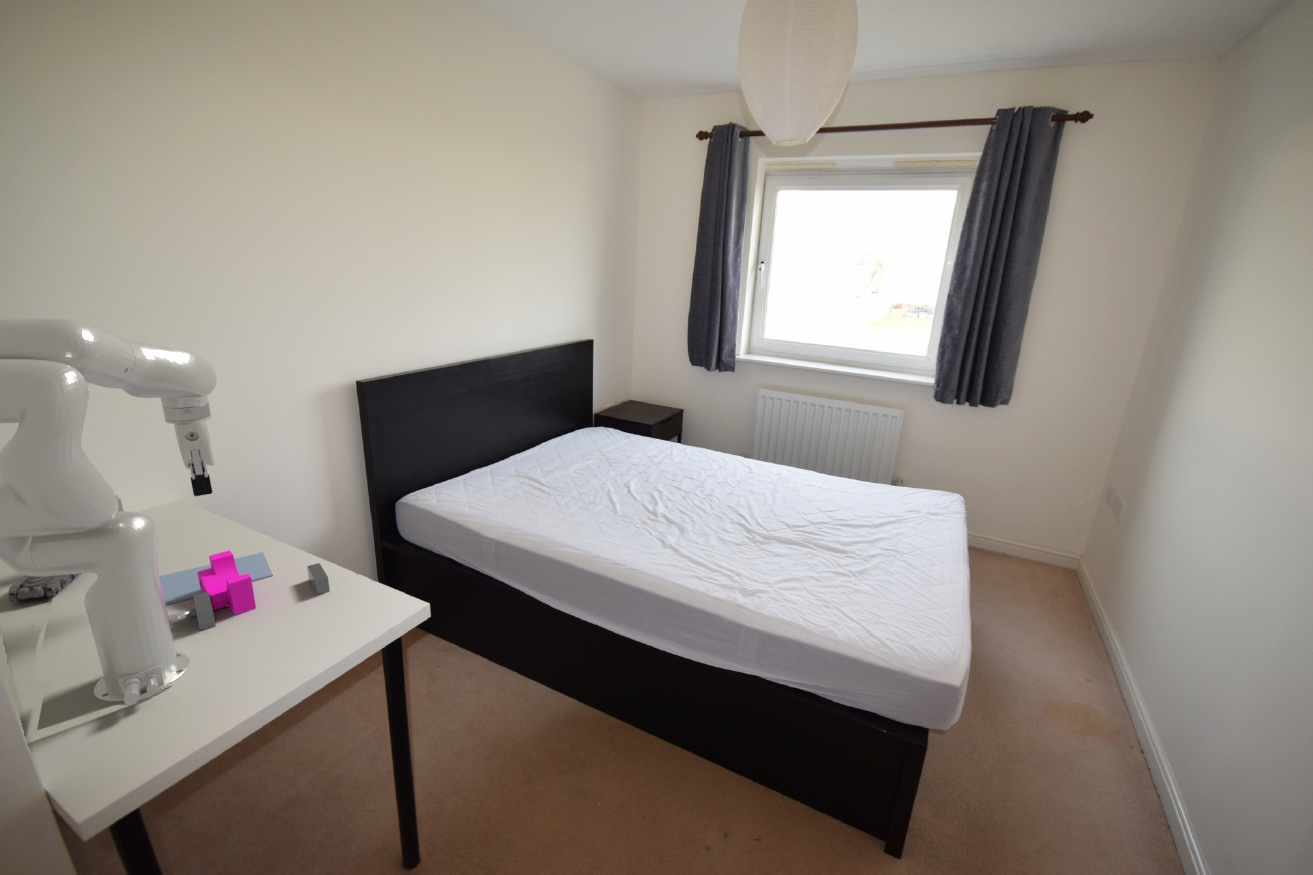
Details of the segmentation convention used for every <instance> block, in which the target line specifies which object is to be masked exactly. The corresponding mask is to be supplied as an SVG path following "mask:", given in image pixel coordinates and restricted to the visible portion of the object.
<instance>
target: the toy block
mask: <svg viewBox="0 0 1313 875" xmlns="http://www.w3.org/2000/svg"><path fill="white" fill-rule="evenodd" d="M208 557H209V562H210V564H211V568H208V569H205V570H201V571H198V572H197V574H198V579H199V584H200V589H201V591H202V593H204V592H208V591H209V596H210V600H211V604H212V609H213V611H217V610H218V609H222V608H225V607H228V608H229V609H230V610H231V611H232V613H233V615H234V616H237V615H240V614H242V613H243V614H244V613H246V612H249V611H251V610H255V609H257V607H256V601H255V595H254V594H255V593H254V586H253V582H252V580H251V576H250V575H249V574H248V573H247V574H244V575H241V576H240V575H239V573H238V570H237V567H236V564H235V560H234V559H235V557H234V554H233V552H232V551H231V550H230V549H229V550H224V551H222V552H218V553H214V554H210V555H208ZM210 564H209V565H210Z"/></svg>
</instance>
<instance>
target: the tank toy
mask: <svg viewBox="0 0 1313 875" xmlns="http://www.w3.org/2000/svg"><path fill="white" fill-rule="evenodd" d="M79 575H82V573H78V574H66V575H55V576H40V577H35V576H27V575H23V577H22V578H21V579H19V580H18V581H16V582H15V583H13V584H12V585H11V586H10V587H9V589H8V599H7V600H8V602H10V603H16V602H21V601H23V600H28V599H31V598H35V599H36V598H37V599H38V598H41V597H45V596H46V597H47V598H49V599H50V598H54V597H57V596H58V594H57V593H60V592H61V591H62V590H64V589H65V588H66V587H68V585H69V584H70V583H71V582H72V581H73V580H75V579H77V578H78V576H79Z"/></svg>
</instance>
